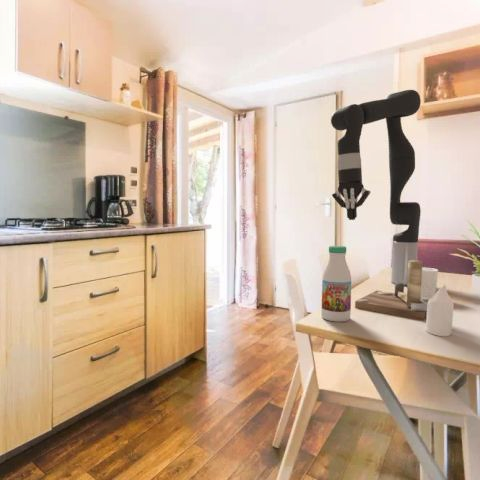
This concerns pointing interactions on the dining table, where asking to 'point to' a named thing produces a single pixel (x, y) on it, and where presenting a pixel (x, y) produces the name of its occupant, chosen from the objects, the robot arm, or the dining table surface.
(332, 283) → the milk bottle
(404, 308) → the stool seat
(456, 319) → the dining table surface
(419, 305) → the corner bracket
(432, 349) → the dining table surface
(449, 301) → the white pointed cylinder
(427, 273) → the white cup
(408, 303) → the hinged leg
